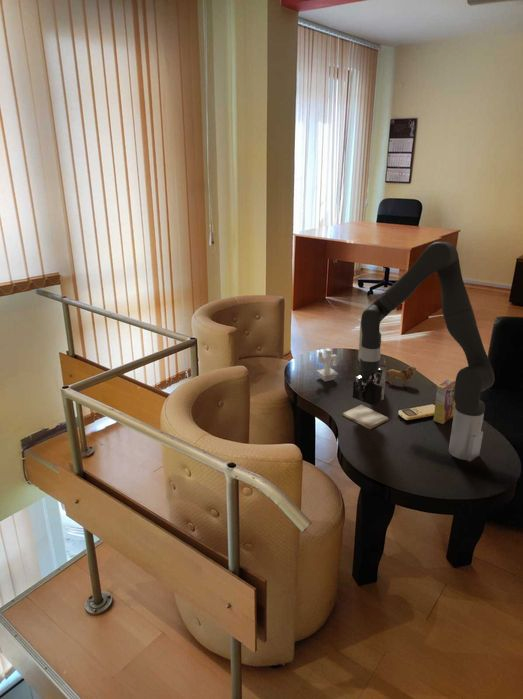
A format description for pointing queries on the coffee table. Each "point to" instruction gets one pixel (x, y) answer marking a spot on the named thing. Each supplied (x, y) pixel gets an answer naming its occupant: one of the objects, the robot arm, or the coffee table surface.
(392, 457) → the coffee table surface
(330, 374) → the figurine
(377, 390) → the digital camera
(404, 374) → the lion figurine
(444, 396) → the candy box
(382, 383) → the coffee box
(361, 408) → the birch board
